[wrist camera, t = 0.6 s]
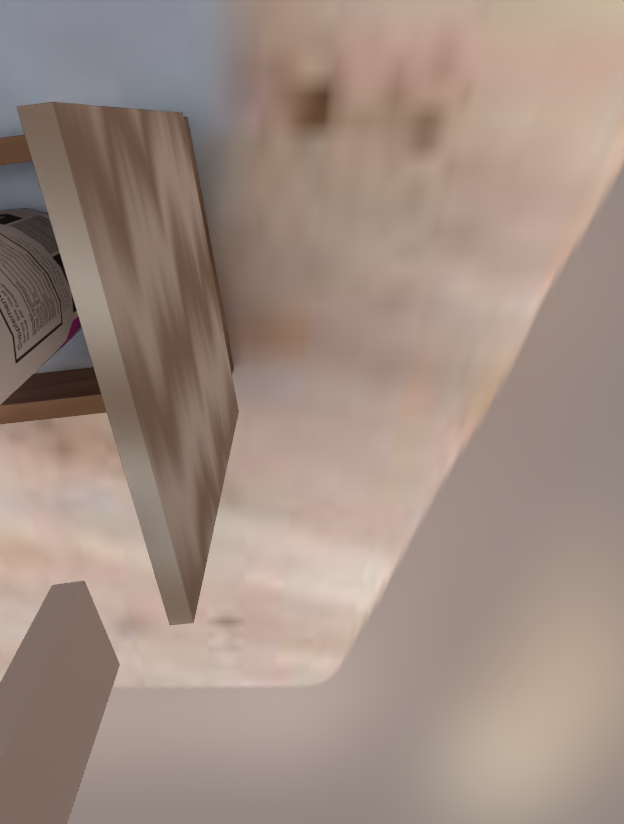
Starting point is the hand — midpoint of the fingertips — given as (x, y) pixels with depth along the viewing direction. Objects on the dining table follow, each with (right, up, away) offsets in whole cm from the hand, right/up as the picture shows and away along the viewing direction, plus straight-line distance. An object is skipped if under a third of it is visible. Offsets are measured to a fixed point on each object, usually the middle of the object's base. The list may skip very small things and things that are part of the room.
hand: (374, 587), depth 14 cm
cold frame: (-19, +13, +24) cm, 33 cm away
